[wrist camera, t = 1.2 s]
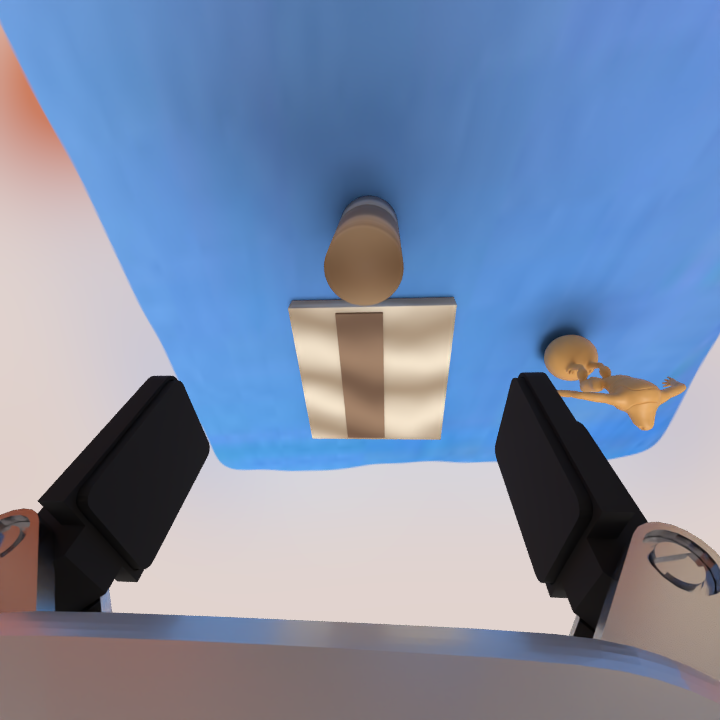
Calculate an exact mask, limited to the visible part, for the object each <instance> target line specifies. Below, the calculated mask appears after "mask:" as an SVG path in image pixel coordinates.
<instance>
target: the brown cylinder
mask: <svg viewBox="0 0 720 720" xmlns="http://www.w3.org/2000/svg"><path fill="white" fill-rule="evenodd" d="M403 269H404V267H403V257H402V250H401V243H400V236H399V228H398V221H397V217H396V214H395V212H394V210H393V208H392V207H391V206H390V205H389V204H388V203H387V202H386V201H385V200H383V199H381V198H379V197H376V196H363V197H359V198H357V199H355V200H354V201H352V202H351V203H350V204H349V205H348V206H347V207H346V209H345V210H344V212H343V214H342V217H341V219H340V222H339V224H338V227H337V229H336V232H335V234H334V236H333V239H332V241H331V244H330V246H329V249H328V251H327V254H326V257H325V261H324V272H325V277H326V280H327V282H328V284H329V286H330V288H331V289H332V290H333V292H334V293H335V294H336V295H337V296H339V297H340V298H341V299H343V300H345V301H346V302H349V303H351V304H355V305H360V306H368V305H374V304H377V303H380V302H382V301H384V300H386V299H387V298H389V297H390V296H391V295H392V294H393V293H394V292H395V291H396V289H397V288H398V286H399V284H400V282H401V280H402V276H403Z"/></svg>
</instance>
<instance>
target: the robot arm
mask: <svg viewBox="0 0 720 720" xmlns="http://www.w3.org/2000/svg"><path fill="white" fill-rule="evenodd" d="M209 448H210V446H209V442H208V440H207V437H206V435H205V433H204V431H203V428H202V426H201V424H200V421H199V419H198V417H197V415H196V412H195V410H194V408H193V406H192V403H191V401H190V399H189V396H188V394H187V392H186V390H185V387H184V385H183V383H182V382H181V381H178V380H177V378H175V377H174V376H152V377H150V378H149V379H148V380H147V381H146V382H145V383H144V384H143V385H142V386H141V387H140V388H139V390H138V391H137V392H136V393H135V394H134V395H133V396H132V397H131V398H130V399H129V401H128V402H127V403H126V404H125V405H124V406H123V407H122V408H121V409H120V410H119V412H118V413H117V414H116V415H115V416H114V417H113V418H112V419H111V421H110V422H109V423H108V424H107V425H106V426H105V427H104V428H103V429H102V430H101V432H100V433H99V434H98V435H97V436H96V437H95V438H94V439H93V440H92V442H91V443H90V444H89V445H88V446H87V447H86V448H85V449H84V450H83V451H82V453H81V454H80V455H79V456H78V457H77V458H76V459H75V460H74V461H73V462H72V464H71V465H70V466H69V467H68V468H67V469H66V470H65V471H64V472H63V474H62V475H61V476H60V477H59V478H58V479H57V480H56V481H55V482H54V484H53V485H52V486H51V487H50V488H49V489H48V490H47V491H46V493H45V494H44V495H43V496H42V497H41V498H40V499H39V500H38V502H39V503H40V504H41V505H42V506H43V508H42V509H41V510H40V512H39V513H38V514H37V513H36V512H35V511H33V510H32V509H18V510H13V511H10V512H7V513H4V514H1V515H0V720H720V556H719V555H718V554H717V553H716V552H715V551H714V550H713V549H712V548H711V547H709V546H708V545H707V544H706V543H705V542H703V541H702V540H701V539H699V538H698V537H696V536H694V535H692V534H691V533H689V532H688V531H685V530H683V529H681V528H678V527H676V526H674V525H671V524H666V523H661V522H650V523H648V522H647V520H646V519H645V517H644V515H643V514H642V512H641V511H640V509H639V508H638V506H637V505H636V503H635V502H634V500H633V499H632V497H631V496H630V494H629V493H628V491H627V490H626V488H625V487H624V485H623V484H622V482H621V481H620V479H619V478H618V476H617V475H616V473H615V471H614V470H613V468H612V467H611V465H610V464H609V462H608V461H607V459H606V458H605V456H604V455H603V453H602V452H601V450H600V449H599V447H598V446H597V444H596V443H595V441H594V440H593V438H592V437H591V435H590V434H589V432H588V430H587V429H586V428H585V427H584V425H583V424H581V423H580V422H578V421H576V420H575V418H574V416H573V415H572V413H571V412H570V410H569V409H568V407H567V406H566V404H565V402H564V401H563V399H562V398H561V396H560V395H559V393H558V392H557V390H556V388H555V387H554V385H553V384H552V382H551V381H550V379H549V378H548V376H547V375H546V374H545V373H543V372H532V373H520V375H519V376H518V378H513V379H512V381H511V385H510V389H509V393H508V397H507V401H506V405H505V409H504V413H503V417H502V420H501V424H500V428H499V432H498V436H497V440H496V445H495V454H496V458H497V462H498V464H499V467H500V470H501V473H502V476H503V479H504V482H505V485H506V488H507V491H508V494H509V497H510V500H511V503H512V506H513V509H514V512H515V515H516V518H517V521H518V524H519V527H520V530H521V533H522V536H523V539H524V542H525V545H526V548H527V551H528V554H529V557H530V559H531V563H532V565H533V569H534V572H535V574H536V577H537V579H538V580H539V581H540V582H541V583H546V586H547V589H548V592H549V595H550V597H555V598H556V597H557V598H568V600H569V602H570V605H571V607H572V610H573V612H574V613H575V614H576V618H575V621H574V624H573V626H572V629H571V632H570V634H569V636H566V635H557V634H545V633H530V632H514V631H501V630H486V629H469V628H449V627H428V626H409V625H408V626H407V625H389V624H368V623H347V622H325V621H324V622H323V621H303V620H279V619H257V618H234V617H210V616H185V615H158V614H133V613H112V609H111V601H110V593H109V587H110V586H111V584H112V582H113V581H114V579H115V580H117V581H123V582H138V580H139V578H140V576H141V574H142V572H143V571H144V569H146V568H148V567H149V566H150V565H151V564H152V562H153V560H154V558H155V556H156V555H157V553H158V551H159V549H160V547H161V545H162V543H163V541H164V539H165V537H166V535H167V534H168V531H169V530H170V528H171V526H172V524H173V522H174V520H175V518H176V516H177V514H178V512H179V510H180V508H181V507H182V505H183V503H184V501H185V499H186V497H187V495H188V493H189V491H190V489H191V487H192V485H193V483H194V481H195V480H196V478H197V476H198V474H199V472H200V470H201V468H202V466H203V464H204V462H205V460H206V458H207V456H208V454H209Z"/></svg>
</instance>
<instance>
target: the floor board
mask: <svg viewBox="0 0 720 720" xmlns="http://www.w3.org/2000/svg"><path fill="white" fill-rule="evenodd" d="M456 307H457V305H456V302H455V299H454V297H440V298H395V299H386V300H384V301H382V302H380V303H377V304H374V305H368V306H360V305H355V304H351V303H349V302H346V301H345V300H304V301H292V302H291V304H290V306H289V308H288V310H289V316H290V321H291V326H292V332H293V337H294V342H295V348H296V353H297V358H298V364H299V369H300V374H301V379H302V385H303V390H304V395H305V401H306V406H307V411H308V417H309V422H310V427H311V433H312V438H321V439H440V438H441V430H442V422H443V413H444V405H445V397H446V389H447V381H448V372H449V364H450V356H451V348H452V339H453V331H454V323H455V315H456Z"/></svg>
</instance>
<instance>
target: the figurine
mask: <svg viewBox="0 0 720 720" xmlns="http://www.w3.org/2000/svg"><path fill="white" fill-rule="evenodd" d="M544 362H545V365H546V367H547V369H548V370H549V372H550V373H551V374H553V375H554V376H555V377H557V378H559V379H562V380H567V381H575V380H579V381H580V389H581V391H583V392H577V391H570V390H557V392H558V393H559V395H560V396H562V397H574V398H578V399H584V400H589V401H594V402H601V403H607V404H610V405H614V406H615V407H616V408H617V409H619V410H622V411H625V412H626V413H627V414H628V415H629V417H630V418H631V420H632V422H633V423H634V424H635V425H636V426H638V428H640V429H641V430H650V429H652V427H653V425H654V420H655V414H656V410H657V408H658V407H659V406H660V405H661V404H662V403H664V402H666V401H667V400H668V399H670V398H671V397H674V396H676V395H678V394H680V393H682V392H683V391H684V390H685V389H686V386H685V385H684V384H683V383H680V382H677V381H676V380H675V379H673V378H670V377H667V378H669V379H670V380H666V379H665V381H667V382H663V383H662V384H667V385H665V386H663V387H668V386H671V387H669V388H666V389H663V390H659V388H658V387H657V386H656V385H654V384H653V383H651V382H648V381H646V380H643V379H638V378H632V377H630V376H625V375H616V376H611V371H610V369H609V368H608V367H607V366H604V365H603V364H602V363H597V362H598V353H597V350H596V348H595V346H594V345H593V344H592V343H591V342H590V341H589V340H588V339H586V338H584V337H582V336H578V335H564V336H561V337H558V338H556V339H555V340H553V341H552V342H551V343H550V344H549V345H548V347H547V348H546V350H545V354H544ZM595 368H599V369H600V371H599V372H600V375H601V376H602V377H603V378H602V379H601V378H597V377H590V378H589V379H587V377H588V375H589V374H591V373H592V372H593V370H594V369H595ZM586 379H587V380H586ZM603 388H605V389H606V390H607V391H608V392H609V394H605V393H595V392H599V391H601V390H603Z"/></svg>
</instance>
